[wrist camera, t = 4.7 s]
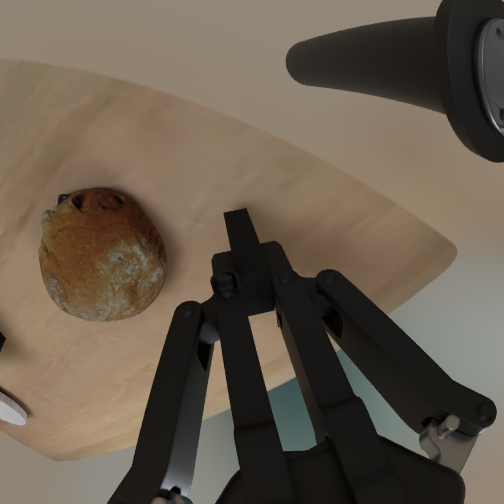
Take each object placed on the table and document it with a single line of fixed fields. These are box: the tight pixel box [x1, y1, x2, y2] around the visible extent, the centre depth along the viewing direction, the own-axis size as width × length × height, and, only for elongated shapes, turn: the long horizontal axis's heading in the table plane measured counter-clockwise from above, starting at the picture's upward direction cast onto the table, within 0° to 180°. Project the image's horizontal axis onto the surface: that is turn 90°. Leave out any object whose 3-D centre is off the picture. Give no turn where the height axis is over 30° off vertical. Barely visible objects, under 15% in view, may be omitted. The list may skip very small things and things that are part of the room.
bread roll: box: [38, 188, 167, 322], centre depth 19 cm, size 10×10×8 cm
